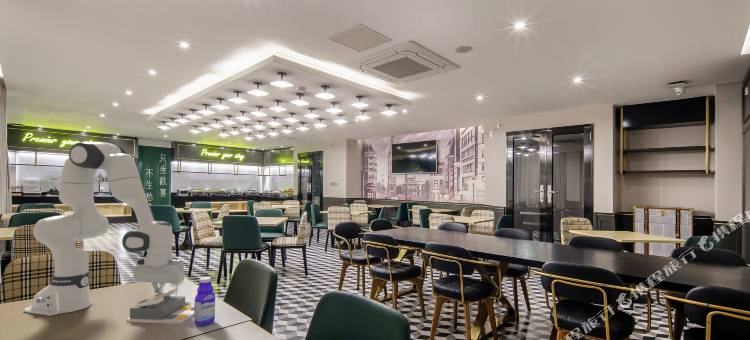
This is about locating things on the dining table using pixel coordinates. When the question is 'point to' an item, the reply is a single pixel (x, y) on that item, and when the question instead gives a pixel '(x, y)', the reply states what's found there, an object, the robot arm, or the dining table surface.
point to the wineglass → (176, 285)
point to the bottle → (204, 303)
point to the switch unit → (163, 311)
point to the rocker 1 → (150, 301)
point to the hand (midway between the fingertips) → (158, 292)
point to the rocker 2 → (166, 293)
